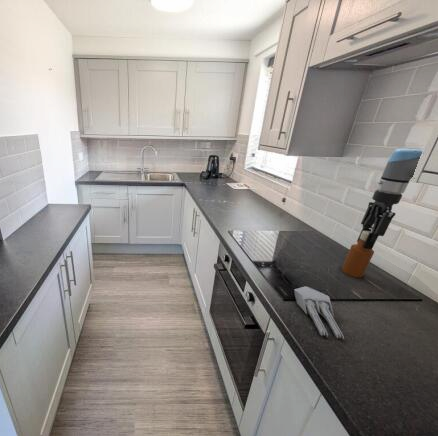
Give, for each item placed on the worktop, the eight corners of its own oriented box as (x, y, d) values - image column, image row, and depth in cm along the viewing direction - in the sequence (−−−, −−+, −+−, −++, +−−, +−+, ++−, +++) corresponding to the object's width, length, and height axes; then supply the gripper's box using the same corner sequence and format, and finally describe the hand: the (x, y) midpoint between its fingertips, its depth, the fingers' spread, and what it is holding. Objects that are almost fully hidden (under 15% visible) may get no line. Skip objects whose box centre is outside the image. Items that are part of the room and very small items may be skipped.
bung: (368, 244, 97) (374, 231, 95) (374, 249, 93) (380, 236, 91) (354, 242, 99) (360, 229, 97) (360, 247, 95) (365, 234, 92)
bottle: (358, 269, 103) (372, 238, 97) (365, 279, 97) (382, 246, 91) (338, 266, 106) (352, 235, 99) (345, 274, 99) (360, 242, 93)
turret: (311, 339, 71) (317, 330, 68) (288, 289, 87) (292, 280, 85) (347, 345, 69) (354, 336, 67) (317, 293, 86) (322, 284, 83)
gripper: (365, 185, 96) (344, 234, 105) (390, 196, 80) (363, 253, 89) (388, 187, 94) (364, 238, 103) (417, 199, 78) (387, 258, 87)
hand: (364, 245), depth 96 cm, fingers closed on bung, 5 cm apart
